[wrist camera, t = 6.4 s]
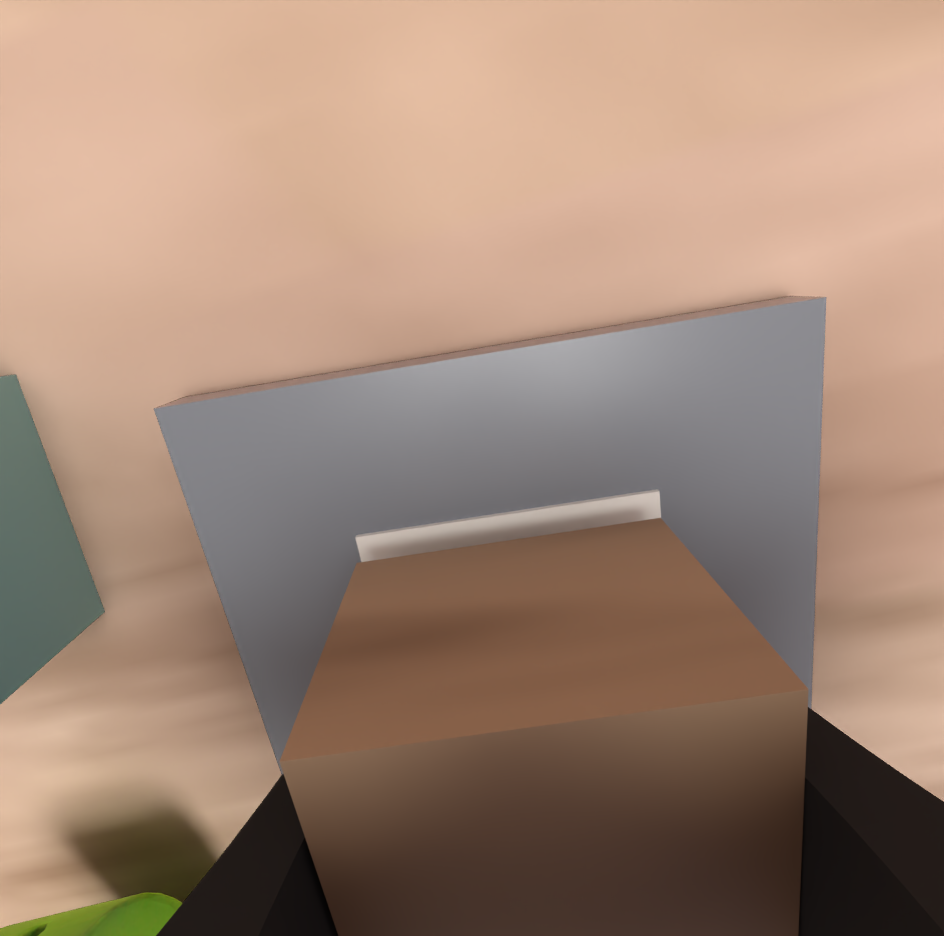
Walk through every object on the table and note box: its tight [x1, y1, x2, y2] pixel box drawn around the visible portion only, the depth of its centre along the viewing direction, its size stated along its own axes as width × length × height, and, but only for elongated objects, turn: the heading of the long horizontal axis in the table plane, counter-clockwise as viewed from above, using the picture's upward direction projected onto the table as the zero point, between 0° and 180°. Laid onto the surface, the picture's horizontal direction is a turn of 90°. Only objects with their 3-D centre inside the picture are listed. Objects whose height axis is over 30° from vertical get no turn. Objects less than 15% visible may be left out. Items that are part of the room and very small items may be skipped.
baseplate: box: [154, 296, 826, 774], centre depth 11 cm, size 11×11×1 cm
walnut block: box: [279, 518, 809, 936], centre depth 8 cm, size 5×5×4 cm
